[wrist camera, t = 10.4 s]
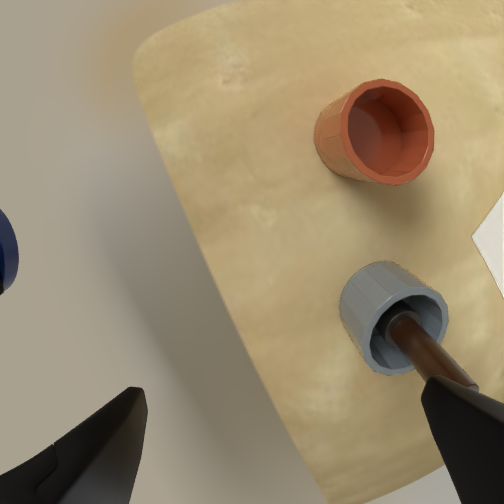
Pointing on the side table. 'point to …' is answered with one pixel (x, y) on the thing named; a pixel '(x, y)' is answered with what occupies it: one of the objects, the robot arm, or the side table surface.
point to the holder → (376, 134)
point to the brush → (419, 345)
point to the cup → (377, 302)
